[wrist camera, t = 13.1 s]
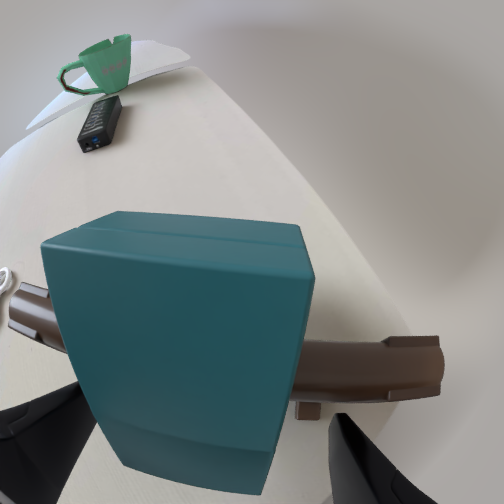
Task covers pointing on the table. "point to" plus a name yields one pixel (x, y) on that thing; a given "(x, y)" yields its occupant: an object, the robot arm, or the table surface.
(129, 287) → the teal angular block
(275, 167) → the table surface
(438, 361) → the rack
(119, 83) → the mug
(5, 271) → the fidget spinner
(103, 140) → the multiport hub
